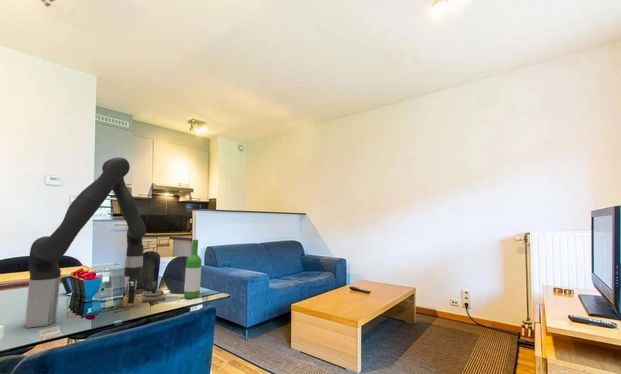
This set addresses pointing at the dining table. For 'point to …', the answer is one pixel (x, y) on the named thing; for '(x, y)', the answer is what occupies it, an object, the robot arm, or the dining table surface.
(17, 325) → the dining table surface
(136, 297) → the brown ribbed pot
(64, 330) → the dining table surface
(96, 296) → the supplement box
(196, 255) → the wine bottle
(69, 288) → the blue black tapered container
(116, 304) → the dining table surface
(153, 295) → the bobbin stand
